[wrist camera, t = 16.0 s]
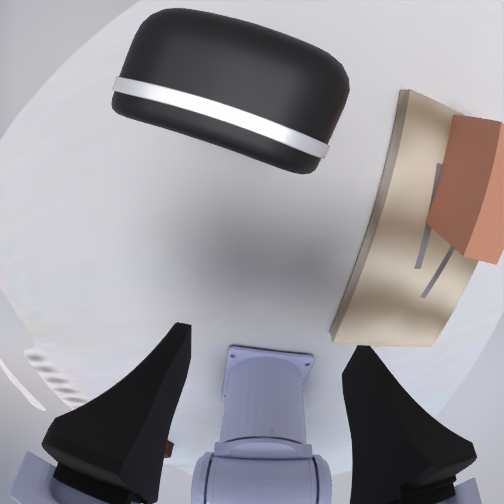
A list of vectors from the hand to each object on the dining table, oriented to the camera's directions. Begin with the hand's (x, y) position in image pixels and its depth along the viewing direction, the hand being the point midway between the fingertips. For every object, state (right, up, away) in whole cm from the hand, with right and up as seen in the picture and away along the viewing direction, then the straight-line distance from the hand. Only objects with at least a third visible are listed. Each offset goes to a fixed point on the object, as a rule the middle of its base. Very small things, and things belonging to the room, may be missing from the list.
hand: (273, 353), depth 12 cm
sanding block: (+14, +10, +4) cm, 17 cm away
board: (+13, +5, +8) cm, 16 cm away
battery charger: (-1, +14, +4) cm, 15 cm away
